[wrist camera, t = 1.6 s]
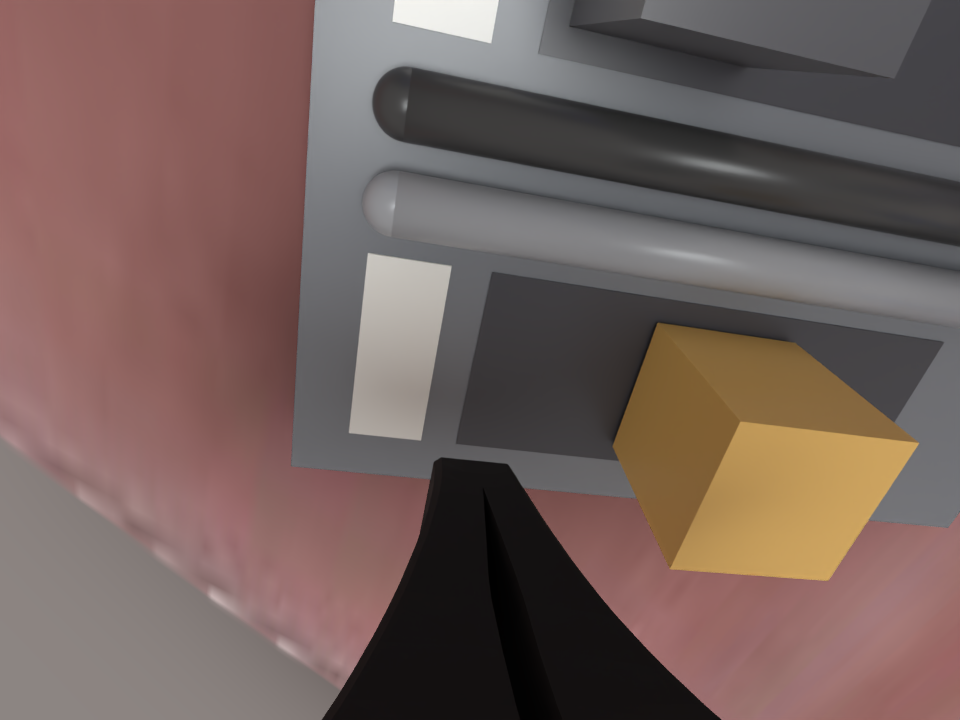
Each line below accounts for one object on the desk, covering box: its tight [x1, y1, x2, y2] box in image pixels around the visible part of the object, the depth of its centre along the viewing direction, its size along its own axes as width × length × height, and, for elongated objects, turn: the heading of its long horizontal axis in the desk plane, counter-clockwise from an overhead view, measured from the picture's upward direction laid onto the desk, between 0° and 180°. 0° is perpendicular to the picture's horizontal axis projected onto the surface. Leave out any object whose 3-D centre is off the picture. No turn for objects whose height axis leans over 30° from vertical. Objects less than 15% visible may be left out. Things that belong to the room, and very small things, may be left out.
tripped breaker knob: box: [612, 323, 919, 581], centre depth 14 cm, size 4×4×4 cm
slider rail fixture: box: [291, 0, 960, 528], centre depth 13 cm, size 22×18×6 cm
